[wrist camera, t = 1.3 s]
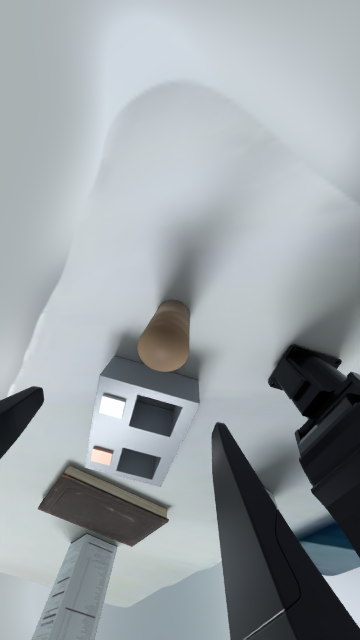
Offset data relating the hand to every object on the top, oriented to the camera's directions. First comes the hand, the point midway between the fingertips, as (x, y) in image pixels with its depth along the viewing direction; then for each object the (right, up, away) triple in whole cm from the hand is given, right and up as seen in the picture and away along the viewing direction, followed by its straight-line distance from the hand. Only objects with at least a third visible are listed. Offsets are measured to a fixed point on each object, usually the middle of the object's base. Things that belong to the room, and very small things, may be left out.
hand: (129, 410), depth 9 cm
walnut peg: (+2, +5, +12) cm, 13 cm away
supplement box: (-20, -54, +36) cm, 67 cm away
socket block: (-3, -10, +18) cm, 21 cm away
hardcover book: (-14, -35, +29) cm, 47 cm away
